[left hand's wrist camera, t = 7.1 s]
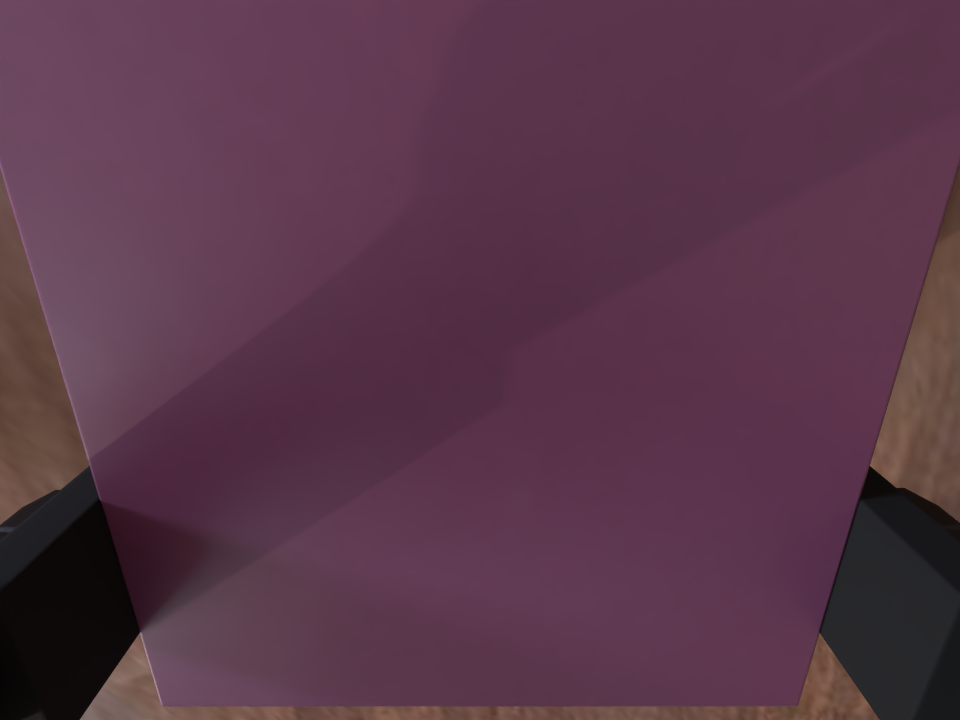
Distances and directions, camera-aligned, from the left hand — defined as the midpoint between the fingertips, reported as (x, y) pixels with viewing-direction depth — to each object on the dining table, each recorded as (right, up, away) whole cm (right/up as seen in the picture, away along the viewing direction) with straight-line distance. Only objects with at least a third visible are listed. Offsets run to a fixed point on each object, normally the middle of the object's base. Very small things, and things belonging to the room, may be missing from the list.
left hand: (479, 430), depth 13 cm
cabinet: (0, +8, +4) cm, 9 cm away
